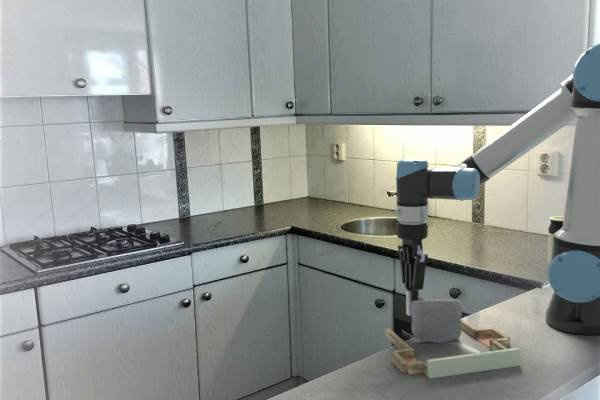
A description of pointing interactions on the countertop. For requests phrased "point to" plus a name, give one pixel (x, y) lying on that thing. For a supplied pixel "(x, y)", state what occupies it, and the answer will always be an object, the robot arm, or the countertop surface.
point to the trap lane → (461, 363)
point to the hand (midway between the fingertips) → (412, 314)
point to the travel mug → (553, 228)
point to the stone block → (436, 319)
